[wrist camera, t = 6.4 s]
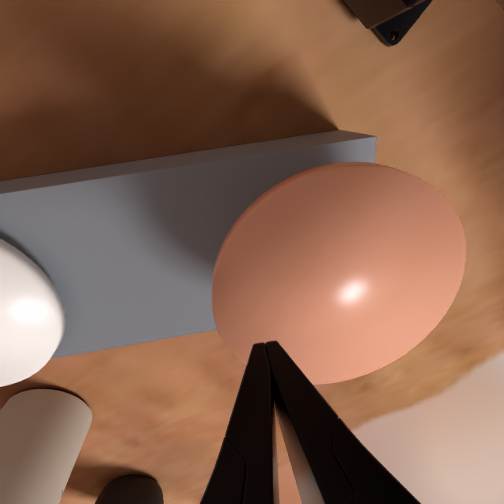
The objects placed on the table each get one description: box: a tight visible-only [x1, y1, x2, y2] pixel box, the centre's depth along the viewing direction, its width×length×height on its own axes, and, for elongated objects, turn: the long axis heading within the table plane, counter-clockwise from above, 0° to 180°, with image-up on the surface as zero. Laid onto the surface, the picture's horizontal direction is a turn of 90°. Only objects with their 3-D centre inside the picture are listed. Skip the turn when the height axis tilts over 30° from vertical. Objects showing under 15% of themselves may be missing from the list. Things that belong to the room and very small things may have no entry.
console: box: [0, 130, 377, 359], centre depth 19 cm, size 28×11×5 cm, turn 97°
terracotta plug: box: [212, 162, 466, 385], centre depth 15 cm, size 11×11×6 cm
